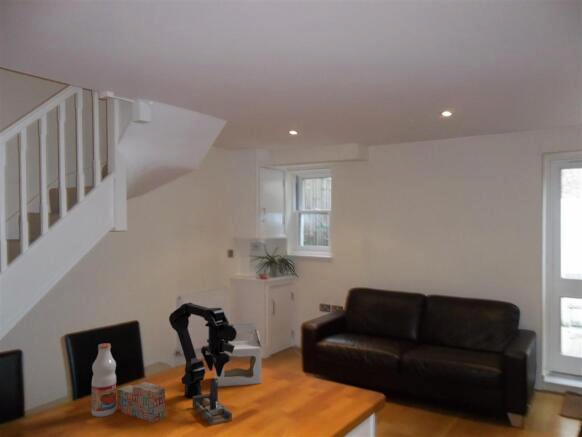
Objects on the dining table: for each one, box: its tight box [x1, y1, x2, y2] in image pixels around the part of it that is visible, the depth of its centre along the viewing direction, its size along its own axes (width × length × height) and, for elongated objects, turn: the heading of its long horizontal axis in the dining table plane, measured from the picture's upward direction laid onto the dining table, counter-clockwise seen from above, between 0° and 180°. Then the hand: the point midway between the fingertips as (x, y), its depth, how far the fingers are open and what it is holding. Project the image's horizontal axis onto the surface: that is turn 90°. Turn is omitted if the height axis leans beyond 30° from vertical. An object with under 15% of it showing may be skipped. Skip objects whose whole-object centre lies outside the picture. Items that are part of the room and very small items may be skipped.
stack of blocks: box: [116, 381, 166, 423], centre depth 192 cm, size 21×6×12 cm, turn 60°
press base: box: [192, 392, 233, 426], centre depth 192 cm, size 21×9×4 cm, turn 31°
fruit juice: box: [90, 342, 117, 418], centre depth 193 cm, size 9×9×28 cm
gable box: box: [214, 323, 262, 387], centre depth 233 cm, size 22×13×28 cm, turn 103°
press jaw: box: [205, 378, 223, 416], centre depth 190 cm, size 5×6×13 cm
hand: (214, 373), depth 203 cm, fingers open, 9 cm apart
